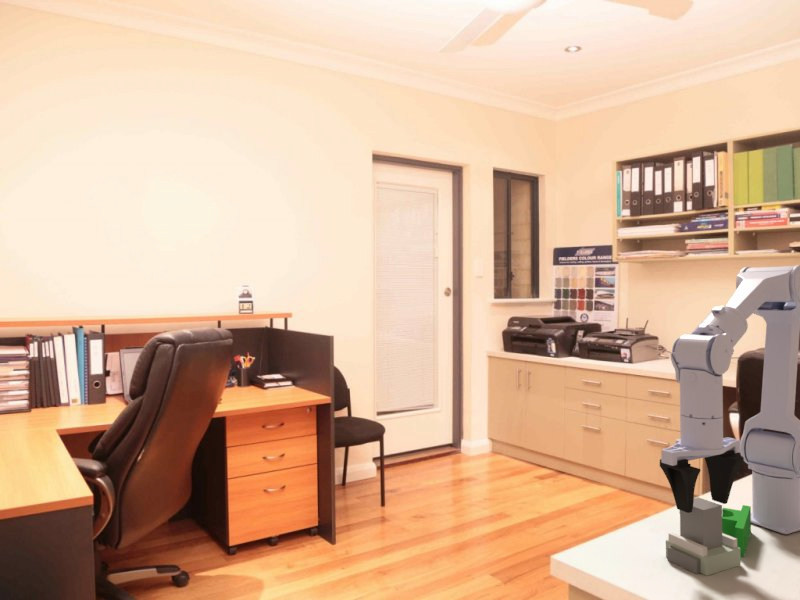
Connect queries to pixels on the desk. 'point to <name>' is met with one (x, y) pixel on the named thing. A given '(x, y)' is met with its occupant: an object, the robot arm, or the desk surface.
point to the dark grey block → (703, 523)
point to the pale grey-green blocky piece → (703, 554)
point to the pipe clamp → (737, 525)
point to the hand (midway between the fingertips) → (702, 506)
